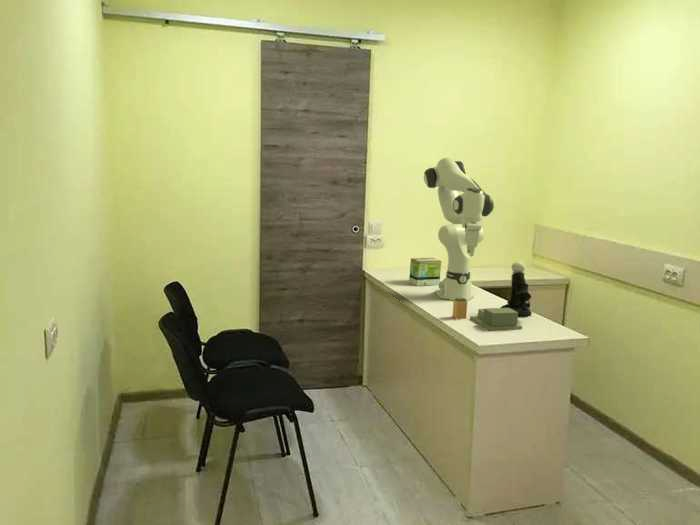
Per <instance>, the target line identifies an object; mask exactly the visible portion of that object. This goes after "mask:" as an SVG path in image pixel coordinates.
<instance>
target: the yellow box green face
mask: <svg viewBox="0 0 700 525" xmlns="http://www.w3.org/2000/svg"><path fill="white" fill-rule="evenodd" d="M452 302H453V304H452V317H453V318H454V317H455V318H454V319H456V318H465V319H467V312H468V311H467V310H468V300H466V299H465V298H455V300H453V301H452Z"/></svg>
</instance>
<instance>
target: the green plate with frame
mask: <svg viewBox="0 0 700 525" xmlns="http://www.w3.org/2000/svg"><path fill="white" fill-rule="evenodd" d="M469 319H470V320H471V321H473V322H474V323H476V324H478V325H480V326H481V327H483V328H484V329H485V330H487V331H503V330H505V331H508V330H507V329H509V330H522V329H523V325H521V324H520V323H518V319H519V317H518V312H516V311H514V310H512V309H510V308H501V307H494V308H493V307H492V308H491V307H489V308H486V307H484V308H478V310H477V315H471V316H469Z"/></svg>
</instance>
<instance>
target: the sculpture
mask: <svg viewBox="0 0 700 525" xmlns="http://www.w3.org/2000/svg"><path fill="white" fill-rule="evenodd" d="M511 270H512V274H511V283H510V284H511V291H510V292H511V294H510V299H509V300H508V301H506V303H507V304H504V305H502V306H501V307H500V308H510V309H512V310H514V311H516V312H518V318H528V316H529V317H530V316H532V311H531V309H530V307H531V303H529V302H527V301H529V300H530V299H531V298H532V295H531V294H530V292H529V284H528V283H526V279H525V275H526V274H525V272H524V271H525V270H526V265H525V264H524V262H522V261H515V262H513V263H512V265H511Z"/></svg>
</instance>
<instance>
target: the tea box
mask: <svg viewBox="0 0 700 525" xmlns="http://www.w3.org/2000/svg"><path fill="white" fill-rule="evenodd" d="M441 268H442V260H441V259H437V258H435V257H412V258H410V266H409V278H408V283H409V284H412V285H414V286H416V287H422V286H439V284H440V283H441V281H440V280H441Z"/></svg>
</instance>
